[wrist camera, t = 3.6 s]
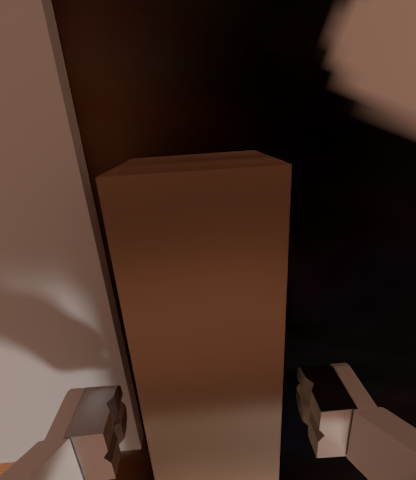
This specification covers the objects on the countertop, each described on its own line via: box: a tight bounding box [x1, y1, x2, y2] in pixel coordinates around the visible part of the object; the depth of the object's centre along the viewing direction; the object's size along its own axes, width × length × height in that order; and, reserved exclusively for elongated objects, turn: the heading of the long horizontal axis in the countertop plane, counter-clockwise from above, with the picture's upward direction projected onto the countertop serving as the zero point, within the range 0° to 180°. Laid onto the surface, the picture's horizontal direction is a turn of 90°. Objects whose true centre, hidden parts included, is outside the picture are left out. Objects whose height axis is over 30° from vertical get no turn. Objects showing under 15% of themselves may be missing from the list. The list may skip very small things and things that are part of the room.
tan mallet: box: [95, 150, 292, 480], centre depth 11 cm, size 22×7×4 cm, turn 3°
